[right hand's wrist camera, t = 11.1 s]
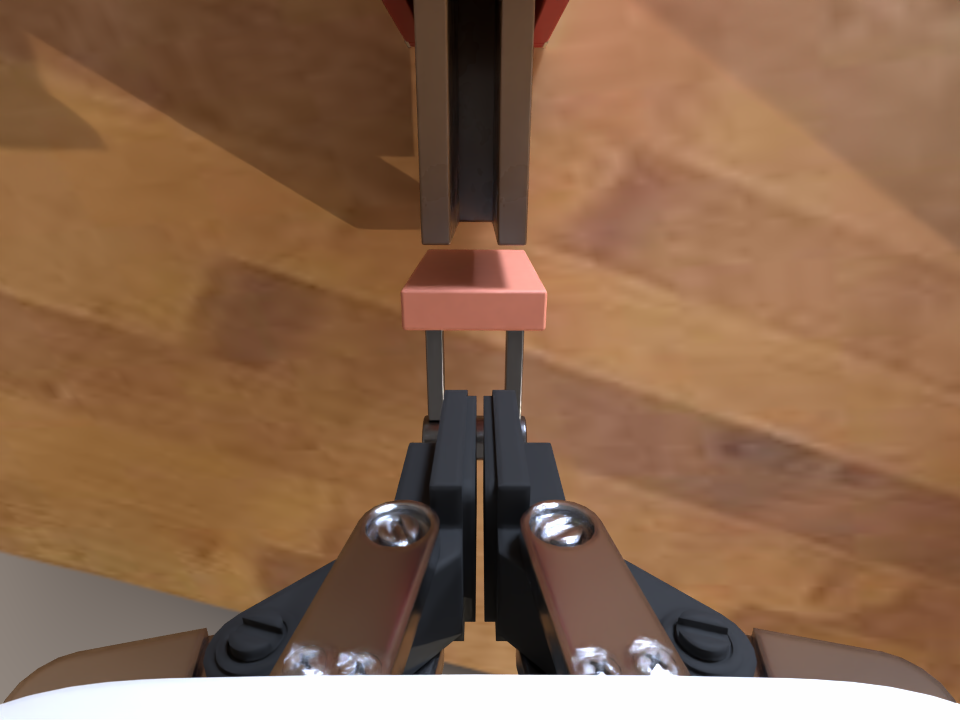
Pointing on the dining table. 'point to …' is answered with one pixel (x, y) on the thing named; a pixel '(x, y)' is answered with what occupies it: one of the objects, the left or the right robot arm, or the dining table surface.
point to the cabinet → (546, 18)
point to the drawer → (473, 184)
